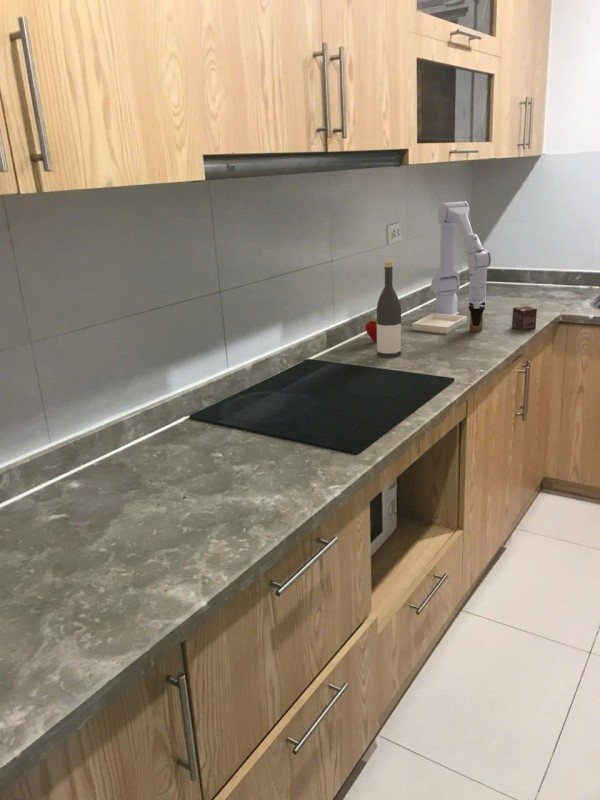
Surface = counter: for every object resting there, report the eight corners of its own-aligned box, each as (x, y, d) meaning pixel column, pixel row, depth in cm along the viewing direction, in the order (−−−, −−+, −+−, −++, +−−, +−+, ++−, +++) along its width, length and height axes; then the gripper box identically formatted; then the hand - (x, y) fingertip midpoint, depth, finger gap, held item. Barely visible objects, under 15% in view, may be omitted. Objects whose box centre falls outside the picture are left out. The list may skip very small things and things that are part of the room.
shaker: (472, 328, 236) (473, 304, 233) (484, 329, 233) (485, 305, 230) (467, 331, 232) (468, 306, 229) (479, 332, 230) (480, 307, 227)
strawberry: (371, 339, 229) (370, 311, 226) (389, 341, 225) (389, 313, 221) (362, 343, 225) (361, 315, 222) (380, 345, 221) (380, 317, 217)
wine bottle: (372, 353, 213) (370, 261, 202) (393, 349, 215) (393, 259, 205) (383, 359, 206) (383, 265, 195) (406, 355, 208) (406, 262, 198)
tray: (432, 319, 251) (432, 313, 250) (466, 322, 244) (467, 316, 243) (411, 330, 238) (411, 323, 237) (447, 334, 230) (447, 327, 229)
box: (525, 325, 236) (527, 305, 234) (536, 328, 231) (537, 308, 228) (511, 327, 234) (512, 307, 232) (521, 330, 229) (522, 310, 226)
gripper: (466, 282, 235) (465, 318, 240) (465, 290, 222) (463, 328, 227) (486, 282, 233) (485, 319, 238) (486, 290, 220) (484, 329, 225)
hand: (476, 323), depth 232 cm, fingers closed on shaker, 4 cm apart
